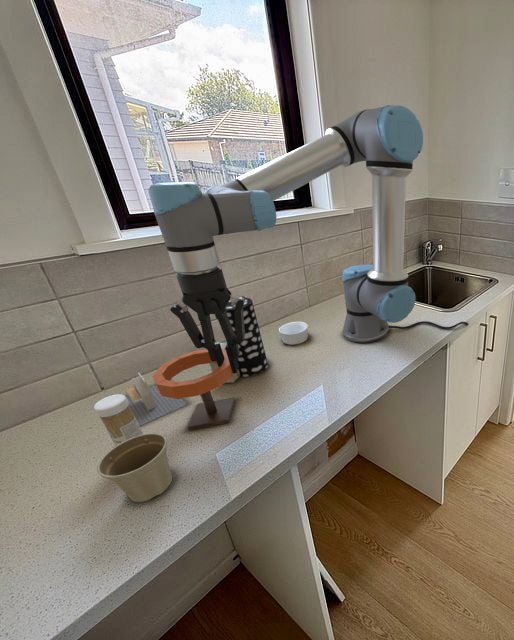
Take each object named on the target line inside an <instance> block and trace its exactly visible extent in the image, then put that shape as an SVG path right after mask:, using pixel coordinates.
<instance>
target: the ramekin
mask: <svg viewBox="0 0 514 640" xmlns="http://www.w3.org/2000/svg"><path fill="white" fill-rule="evenodd" d="M308 328H309V326H308V324H307V323H306V322H303V321H291V322H287V323H285V324H282V325H281V326H280V327H279V328H278V332H279V334H280V338H281V341H282V342H283V343H284V344H286V345H291V346H293V345H299V344H303V343H304V342H305V341H307V340H308V338H309V330H308Z"/></svg>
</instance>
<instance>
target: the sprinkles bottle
mask: <svg viewBox="0 0 514 640" xmlns="http://www.w3.org/2000/svg"><path fill="white" fill-rule="evenodd" d="M126 397H127V396H126V395H124V394H121V393H118V394H117V393H116V394H113V395H108V396H106V397H104V398H102V399H100V400H98V401H97V402H96V403H95V404H94V406H93V410H94V412H95V414H96V415H97V416H98V417H99V418H100V420H101V421H102V423H103V426H104V427H105V428H106V431H107V433H108V434H109V436H110V438H111V440H112V442H113V445H114V447H115V446H117V445H118V444H120V443H122V442H124V441H126V440H128V439H130V438H133V437H136V436H138V435H142V434H144V432H143V430H142V428H141V426H139V424H138V422H137V420H136V418H135V416H134V415H133V413H132V411H131V409H130V407H129V402H128V400H127V399H126Z"/></svg>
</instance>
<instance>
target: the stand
mask: <svg viewBox="0 0 514 640" xmlns="http://www.w3.org/2000/svg"><path fill="white" fill-rule="evenodd" d="M199 396H200V399H201V401H202V402H201V403H197V404H196V407H195V409H194V411H193V412H192V415H191V418H190V419H189V422H188V424H187V426H186V428H187V431H193V430H197V429H203V428H208V427H213V426H218V425H223V424H228V423H230V419H231V416H232V413H233V410H234V407H235V402H236V398H235V397H230V398H224V399H217V400H214V397H213V394H212V392H211V391H208V392H206V393H204V394H201V395H199Z"/></svg>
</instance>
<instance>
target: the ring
mask: <svg viewBox="0 0 514 640" xmlns="http://www.w3.org/2000/svg"><path fill="white" fill-rule="evenodd" d="M222 352H223V355H224V358H225V359H224V361H223V363H222V366H220V367H219V368H217V369H216V370H215V371H213V372H212V371H211V372H210V373H208V374H205V375H202V376H200V377H198V378H195V379H189V380H184V381H183V380H182V381H174V380H172V378H174V377H175V376H178V374H180V373H182V372H183V371H185V370H188V369H191V368H193V367H194V368H195V367H196V366H200V365H201V366H202V365H209V363H217V361H212V360H211V359H210V356H209V353H208V350H207V349H206V348H204V349H197V350H193V351H190V352H187V353H184V354H181V355H178V356H175V357H173V358H172V359H169V360H168V361H167V362H165V363H163V364H162V365H160V366H159V367H158V368H157V370H156V371H155V372H154V373H153V375H152V379H153V382H154V384H155V385H156V386H157V388H158V390H159V392H160V394H161V396H164V397H169V398H175V399H180V398H181V399H185V398H192V397H198V396H200V395H201V394H204V393H206V392H208V391H210V392H211V391H213V390H216V389H218V388H219V387H221V386H223V385H224V384H226V383H225V382H226V381H228V380H229V379H230V378H232V377H233V374H234V373H233V372H232V369H231V366H230V363H229V359H228V356H227V353H226V350H222Z"/></svg>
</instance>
